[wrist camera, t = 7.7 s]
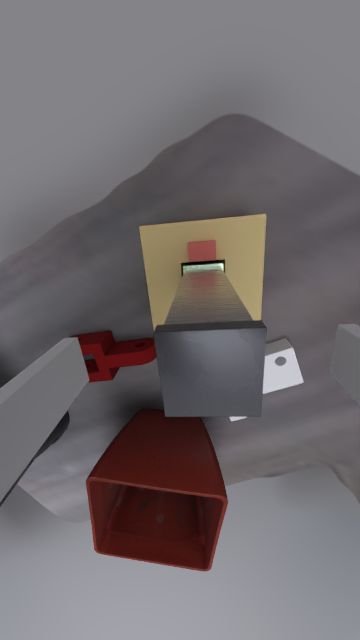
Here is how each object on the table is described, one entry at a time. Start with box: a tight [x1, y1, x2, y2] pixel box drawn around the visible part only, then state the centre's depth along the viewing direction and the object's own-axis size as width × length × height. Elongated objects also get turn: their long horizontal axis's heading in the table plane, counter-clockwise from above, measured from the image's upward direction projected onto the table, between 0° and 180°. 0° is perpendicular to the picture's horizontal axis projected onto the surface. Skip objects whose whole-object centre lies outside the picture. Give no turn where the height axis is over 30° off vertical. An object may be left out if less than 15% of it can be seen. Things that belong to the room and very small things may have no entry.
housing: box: [139, 214, 266, 330], centre depth 30 cm, size 14×14×10 cm
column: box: [154, 262, 267, 417], centre depth 19 cm, size 5×5×21 cm
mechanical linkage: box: [71, 331, 157, 382], centre depth 39 cm, size 16×7×5 cm, turn 100°
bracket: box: [229, 338, 304, 421], centre depth 36 cm, size 13×7×8 cm, turn 114°
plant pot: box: [86, 409, 228, 571], centre depth 40 cm, size 19×19×17 cm
